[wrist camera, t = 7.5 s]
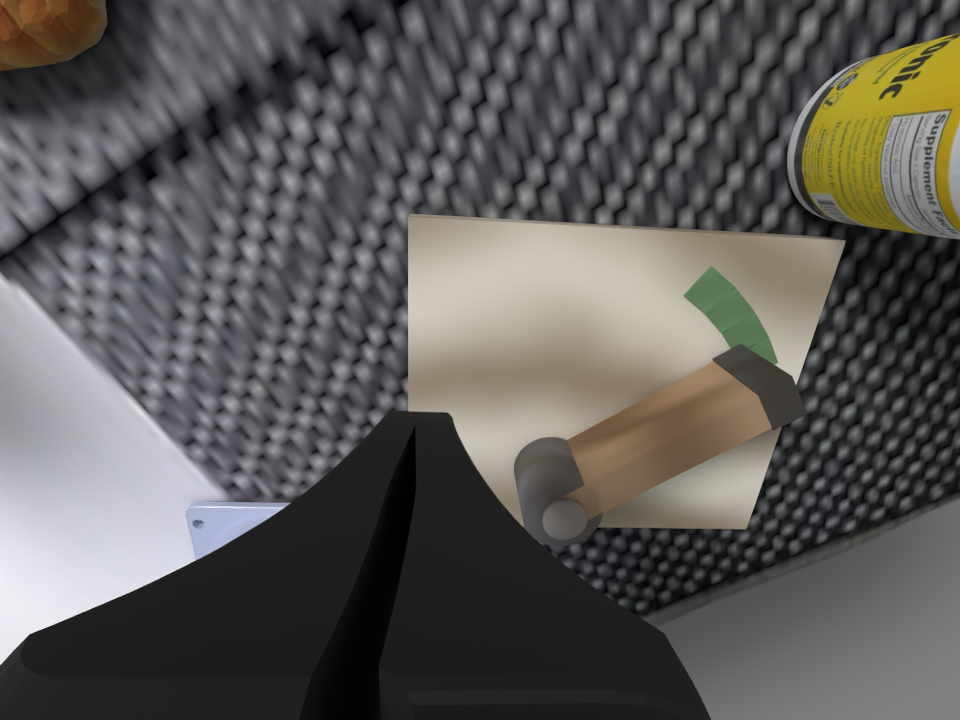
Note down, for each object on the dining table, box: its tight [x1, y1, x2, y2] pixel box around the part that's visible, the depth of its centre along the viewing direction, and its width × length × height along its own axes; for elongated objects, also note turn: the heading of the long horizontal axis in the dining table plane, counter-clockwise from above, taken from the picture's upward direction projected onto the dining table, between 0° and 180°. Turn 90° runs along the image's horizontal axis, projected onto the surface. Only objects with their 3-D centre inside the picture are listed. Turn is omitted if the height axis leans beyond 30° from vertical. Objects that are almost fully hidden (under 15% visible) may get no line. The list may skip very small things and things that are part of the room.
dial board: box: [408, 214, 846, 529], centre depth 20 cm, size 14×16×1 cm
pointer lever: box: [514, 343, 807, 546], centre depth 18 cm, size 11×3×3 cm, turn 122°
